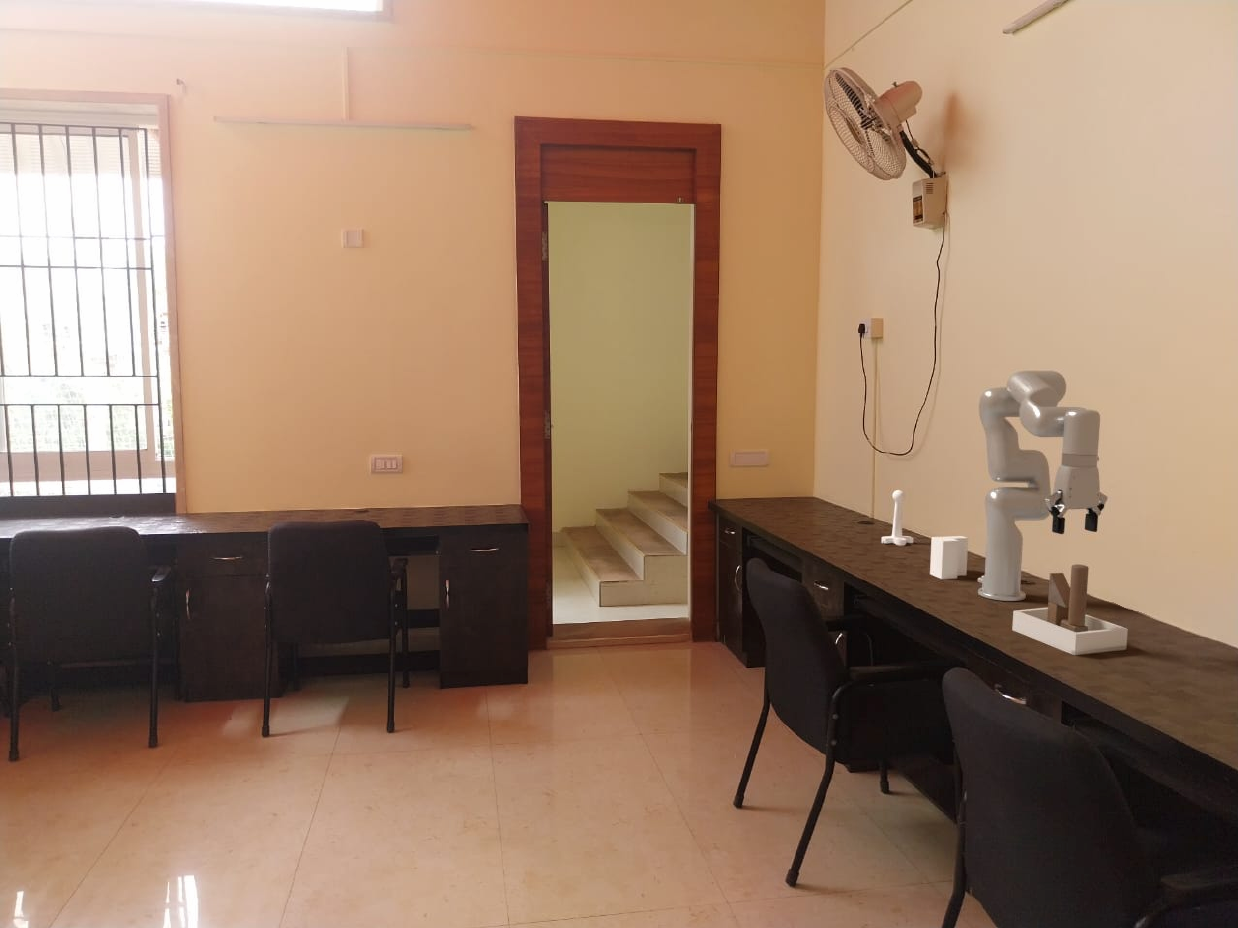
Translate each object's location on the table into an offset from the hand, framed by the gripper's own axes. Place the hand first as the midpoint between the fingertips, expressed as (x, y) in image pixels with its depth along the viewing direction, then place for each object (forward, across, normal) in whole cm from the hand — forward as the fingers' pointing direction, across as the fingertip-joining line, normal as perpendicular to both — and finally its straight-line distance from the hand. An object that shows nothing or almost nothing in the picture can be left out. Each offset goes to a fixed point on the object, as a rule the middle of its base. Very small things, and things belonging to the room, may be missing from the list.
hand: (1074, 531), depth 211 cm
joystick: (+28, -26, -109) cm, 116 cm away
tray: (+26, +1, +1) cm, 26 cm away
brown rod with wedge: (+26, +1, +1) cm, 26 cm away
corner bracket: (+27, -14, -64) cm, 71 cm away
